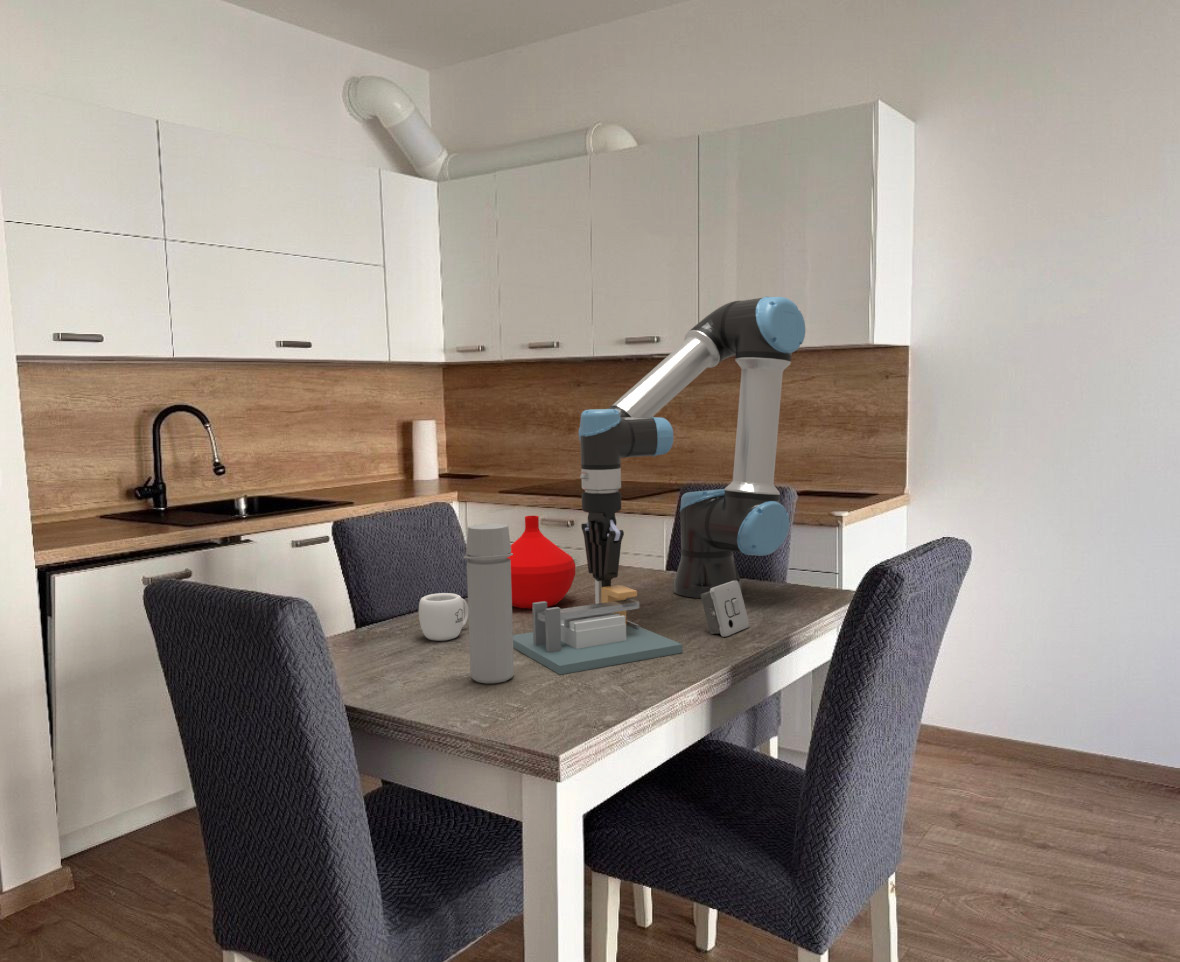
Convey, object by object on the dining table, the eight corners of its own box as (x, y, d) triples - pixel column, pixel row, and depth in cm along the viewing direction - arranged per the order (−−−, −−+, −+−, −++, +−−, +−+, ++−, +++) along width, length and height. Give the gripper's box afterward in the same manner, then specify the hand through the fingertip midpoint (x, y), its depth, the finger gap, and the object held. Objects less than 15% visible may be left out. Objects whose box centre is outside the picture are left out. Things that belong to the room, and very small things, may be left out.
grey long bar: (630, 605, 178) (630, 598, 177) (639, 608, 175) (639, 601, 175) (537, 619, 169) (537, 612, 169) (545, 622, 166) (544, 615, 166)
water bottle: (521, 682, 154) (516, 527, 151) (472, 687, 152) (466, 531, 149) (509, 666, 163) (504, 520, 160) (463, 671, 160) (457, 523, 158)
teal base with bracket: (619, 626, 188) (619, 580, 187) (682, 652, 169) (681, 602, 168) (506, 644, 177) (505, 595, 176) (559, 674, 157) (558, 620, 156)
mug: (444, 645, 177) (443, 603, 176) (410, 640, 181) (408, 599, 180) (485, 630, 187) (484, 591, 186) (451, 625, 191) (450, 587, 190)
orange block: (620, 623, 184) (619, 584, 183) (637, 631, 178) (636, 590, 177) (602, 626, 182) (601, 587, 181) (618, 634, 176) (618, 593, 175)
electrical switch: (725, 638, 177) (720, 588, 177) (701, 637, 181) (697, 588, 180) (750, 628, 185) (746, 580, 184) (727, 626, 188) (723, 579, 188)
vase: (585, 609, 202) (583, 519, 200) (498, 616, 198) (495, 524, 196) (565, 592, 220) (563, 509, 218) (486, 598, 215) (483, 513, 214)
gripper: (568, 488, 186) (571, 608, 189) (600, 495, 175) (602, 622, 177) (602, 486, 190) (604, 603, 192) (635, 492, 178) (637, 616, 181)
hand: (603, 612), depth 185 cm, fingers closed
